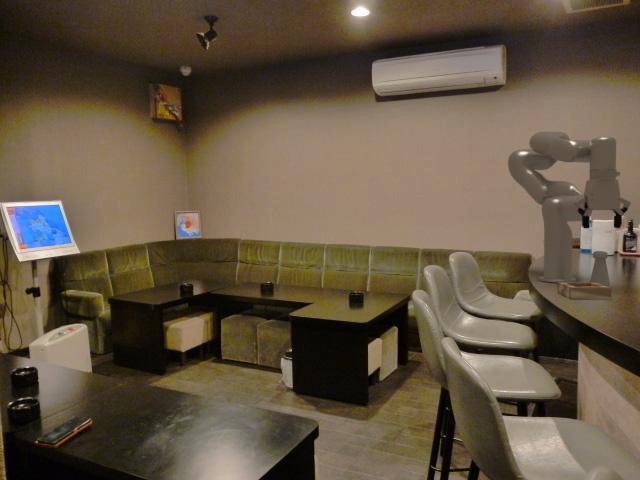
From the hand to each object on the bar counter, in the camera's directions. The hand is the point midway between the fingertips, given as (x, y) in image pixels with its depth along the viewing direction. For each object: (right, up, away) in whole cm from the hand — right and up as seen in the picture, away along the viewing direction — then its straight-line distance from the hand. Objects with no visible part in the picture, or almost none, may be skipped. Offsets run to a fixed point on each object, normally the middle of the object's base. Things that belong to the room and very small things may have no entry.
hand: (601, 228), depth 166 cm
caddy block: (-10, -21, -8) cm, 25 cm away
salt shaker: (0, -21, +2) cm, 21 cm away
